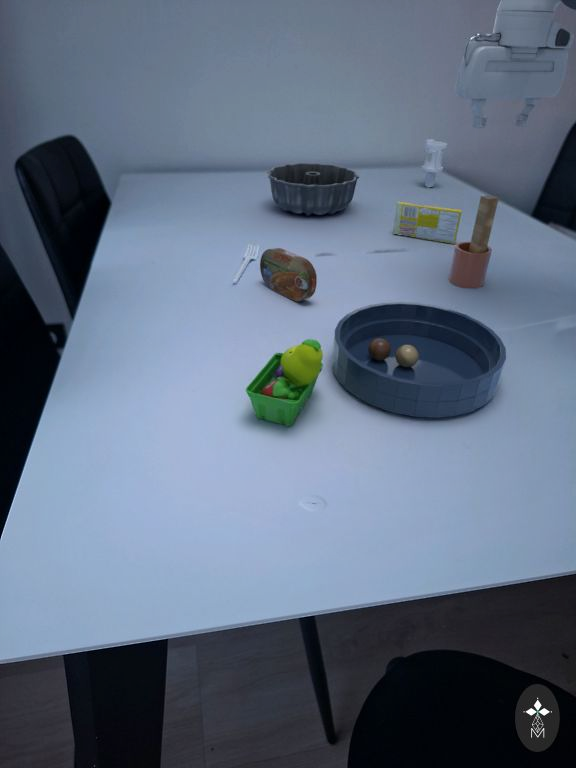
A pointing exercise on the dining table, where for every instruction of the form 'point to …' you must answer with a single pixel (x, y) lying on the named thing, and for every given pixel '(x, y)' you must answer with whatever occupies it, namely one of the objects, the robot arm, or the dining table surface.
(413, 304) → the round cake pan
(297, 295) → the tin
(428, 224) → the candy box
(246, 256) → the fork
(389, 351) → the bead
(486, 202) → the stirring stick
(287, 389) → the fruit basket
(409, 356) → the bead
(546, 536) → the dining table surface
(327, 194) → the bundt pan
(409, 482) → the dining table surface
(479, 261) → the pot
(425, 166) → the white tall piece
